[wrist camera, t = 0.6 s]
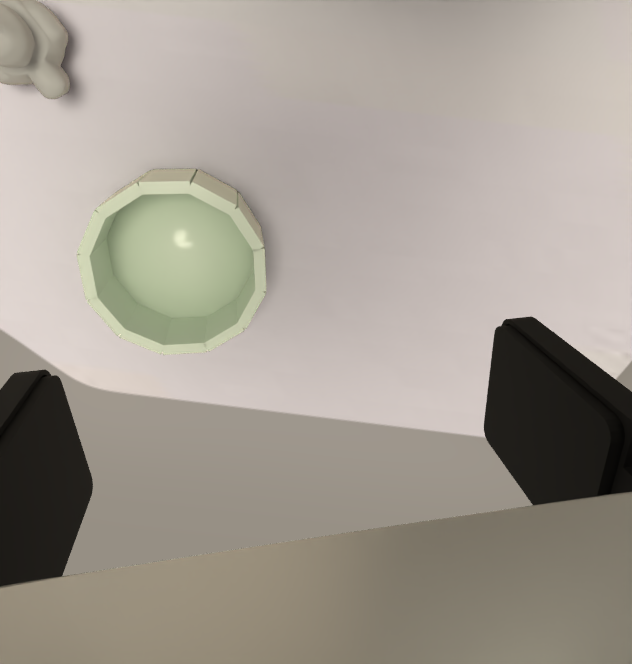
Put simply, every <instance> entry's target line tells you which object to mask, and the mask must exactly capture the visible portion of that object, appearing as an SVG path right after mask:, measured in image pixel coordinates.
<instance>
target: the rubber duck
mask: <svg viewBox="0 0 632 664" xmlns="http://www.w3.org/2000/svg"><path fill="white" fill-rule="evenodd" d="M67 43H68V33H67V31H66V29H65V28H64V26H63V25H62V24H61V23H60V21H59V20H58V19H57V17H56V16H55V15H54V14H53V12H52V11H51V10H50V9H48V8H47V7H46V6H44V5H43V4H41V3H40V2H38V1H36V0H0V83H2V84H7V85H20V84H23V85H28V84H33V83H34V85H35V86H36V88H37V89H38V90H39V91H40V93H41V94H42V95H43V96H44V97H46V98H48V99H57V98H59V97H61V96H62V95H65V94H67V93H68V91H69V88H70V81H69V78H68V75H67V74H66V72H65V71H64V70H63V69H62V68H61V63H62V60H63V58H64V55H65V48H66V46H67Z"/></svg>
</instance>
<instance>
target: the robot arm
mask: <svg viewBox="0 0 632 664" xmlns="http://www.w3.org/2000/svg"><path fill="white" fill-rule="evenodd" d="M484 432H485V436H486V439H487V441H488V442H489V444H490V445H491V447H492V448H493V449H494V451H495V452H496V454H497V455H498V457H499V458H500V459H501V461H502V462H503V464H504V465H505V466H506V468H507V469H508V470H509V472H510V473H511V475H512V476H513V478H514V479H515V480H516V482H517V483H518V485H519V486H520V487H521V489H522V490H523V491H524V493H525V494H526V496H527V497H528V499H529V500H530V501H531V503H532V504H533V505H532V506H526V507H518V508H511V509H504V510H497V511H490V512H484V513H476V514H470V515H463V516H456V517H449V518H443V519H436V520H429V521H422V522H415V523H409V524H401V525H395V526H388V527H381V528H374V529H368V530H361V531H354V532H347V533H341V534H334V535H328V536H321V537H314V538H308V539H301V540H295V541H288V542H282V543H275V544H269V545H262V546H255V547H249V548H242V549H235V550H229V551H222V552H216V553H209V554H202V555H196V556H189V557H184V558H176V559H170V560H164V561H158V562H152V563H145V564H138V565H132V566H125V567H119V568H112V569H106V570H99V571H93V572H86V573H80V574H74V575H67V576H62V575H63V572H64V569H65V566H66V564H67V561H68V558H69V556H70V553H71V550H72V547H73V544H74V542H75V539H76V536H77V533H78V531H79V528H80V525H81V523H82V520H83V517H84V514H85V512H86V509H87V506H88V503H89V501H90V498H91V495H92V489H93V483H92V477H91V473H90V470H89V467H88V464H87V461H86V458H85V454H84V451H83V448H82V445H81V442H80V439H79V435H78V432H77V429H76V426H75V423H74V420H73V417H72V413H71V411H70V407H69V404H68V401H67V398H66V395H65V391H64V388H63V385H62V382H61V380H60V378H59V377H58V376H51V374H50V373H49V372H48V371H47V370H38V371H29V372H19V373H14V374H13V375H12V376H11V377H10V378H9V379H8V381H7V382H6V383H5V385H4V386H3V387H2V388H1V390H0V664H632V392H631V391H630V390H629V389H627V388H626V387H625V386H623V385H622V384H621V383H619V382H618V381H617V380H615V379H614V378H613V377H611V376H610V375H609V374H608V373H606V372H605V371H604V370H602V369H601V368H600V367H598V366H597V365H596V364H594V363H593V362H592V361H590V360H589V359H588V358H587V357H585V356H584V355H583V354H581V353H580V352H579V351H577V350H576V349H575V348H573V347H572V346H571V345H569V344H568V343H567V342H565V341H564V340H563V339H562V338H560V337H559V336H558V335H556V334H555V333H554V332H552V331H551V330H550V329H548V328H547V327H546V326H544V325H543V324H542V323H541V322H539V321H538V320H537V319H535V318H533V317H523V318H514V319H506V320H505V321H504V322H503V324H502V326H499V327H497V328H496V330H495V334H494V342H493V351H492V359H491V368H490V377H489V386H488V394H487V403H486V412H485V420H484Z"/></svg>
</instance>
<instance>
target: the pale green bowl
mask: <svg viewBox="0 0 632 664" xmlns="http://www.w3.org/2000/svg"><path fill="white" fill-rule="evenodd" d="M77 253H78V254H77V259H78V264H79V269H80V274H81V279H82V284H83V288H84V293H85V298H86V300H88V299H89V300H88V301H87V302H88V304H89V305H90V306H91V307H92V308H93V309H94V310H95V311H96V313H97V314H98V315H99V316H100V317H101V318H102V319H103V320H104V322H105V323H106V324H107V325H108V326H109V327H110V328H111V330H112V331H113V332H114V333H115V334H116V335H117V336H118V335H120V334H121V335H120V337H119V338H122V339H124V340H127V341H129V342H132V343H134V344H137V345H139V346H142V347H144V348H146V349H149V350H151V351H154V352H156V353H159V354H162V352H163V355H169V354H186V353H202V352H207V350H208V351H211V350H212V349H214V348H216V347H217V346H219V345H221V344H223V343H224V342H226V341H228V340H229V339H231V338H233V337H234V336H236V335H238V334H239V333H241V332H243V331H244V328H245V329H246V328H247V326H248V325H249V323H250V321H251V319H252V317H253V316H254V314H255V312H256V310H257V308H258V307H259V305H260V303H261V301H262V300H263V298H264V296H265V294H266V269H265V248H264V242H263V236H262V230H261V226H260V225H259V223H258V221H257V220H256V218H255V217H254V215H253V214H252V212H251V210H250V209H249V207H248V206H247V204H246V203H245V201H244V199H243V198H242V196H241V195H240V193H239V192H237V190H236V189H234V188H232V187H230V186H229V185H227V184H225V183H223V182H221V181H219V180H218V179H216V178H214V177H212V176H210V175H208V174H207V173H205V172H203V171H201V170H199V169H198V171H197V170H196V169H153V170H150V171H148V172H147V173H145V174H144V175H142V176H140V177H139V178H137V179H136V180H134V181H133V182H131V183H130V184H128V185H127V186H125V187H123V188H122V189H120V190H119V191H117V192H116V193H115V194H113V195H112V196H111V197H110V198H108V199H107V200H106V201H105V202H103V203H102V204H101V205H100V206H99V207H97V208H96V210H94V212H93V215H92V217H91V220H90V222H89V224H88V227H87V229H86V232H85V234H84V237H83V239H82V242H81V244H80V246H79V249H78V251H77Z"/></svg>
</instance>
